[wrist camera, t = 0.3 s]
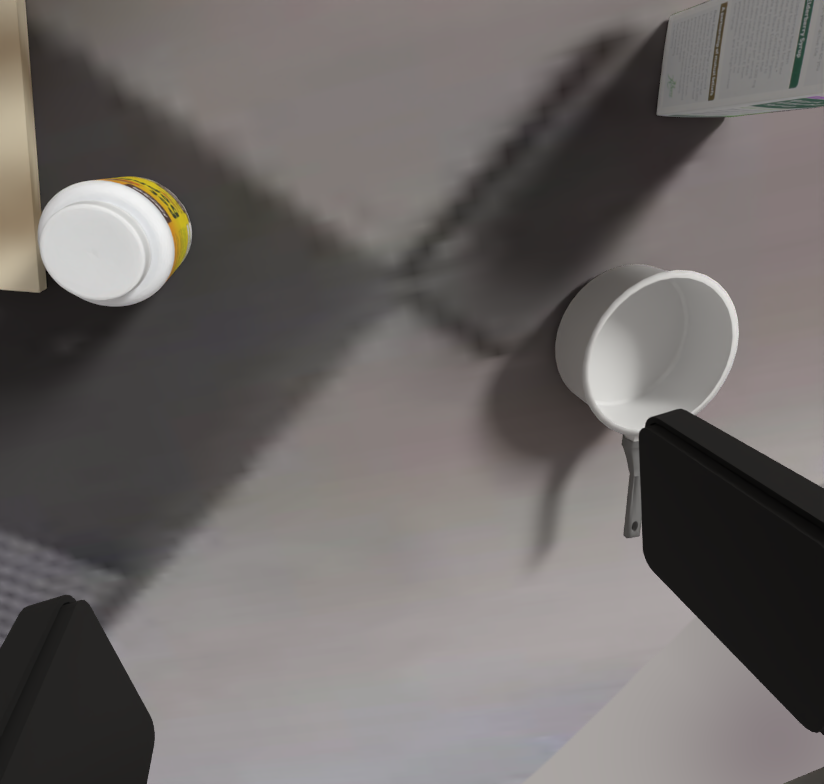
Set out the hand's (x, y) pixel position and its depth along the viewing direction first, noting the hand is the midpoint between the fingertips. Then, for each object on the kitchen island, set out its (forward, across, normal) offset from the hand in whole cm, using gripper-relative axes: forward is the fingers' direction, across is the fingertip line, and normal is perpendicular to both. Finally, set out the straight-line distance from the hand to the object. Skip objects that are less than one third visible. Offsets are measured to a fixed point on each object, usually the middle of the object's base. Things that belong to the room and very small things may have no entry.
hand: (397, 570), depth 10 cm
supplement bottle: (+29, +8, -5) cm, 31 cm away
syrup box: (+29, -28, -7) cm, 41 cm away
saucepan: (+29, -21, +14) cm, 38 cm away
